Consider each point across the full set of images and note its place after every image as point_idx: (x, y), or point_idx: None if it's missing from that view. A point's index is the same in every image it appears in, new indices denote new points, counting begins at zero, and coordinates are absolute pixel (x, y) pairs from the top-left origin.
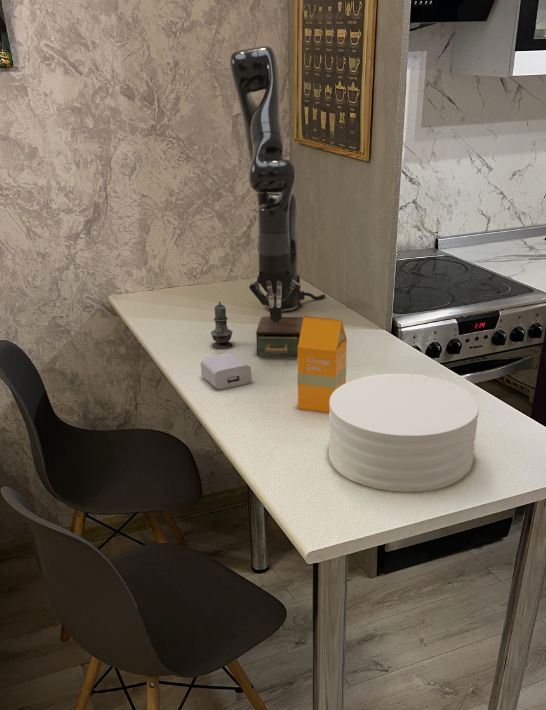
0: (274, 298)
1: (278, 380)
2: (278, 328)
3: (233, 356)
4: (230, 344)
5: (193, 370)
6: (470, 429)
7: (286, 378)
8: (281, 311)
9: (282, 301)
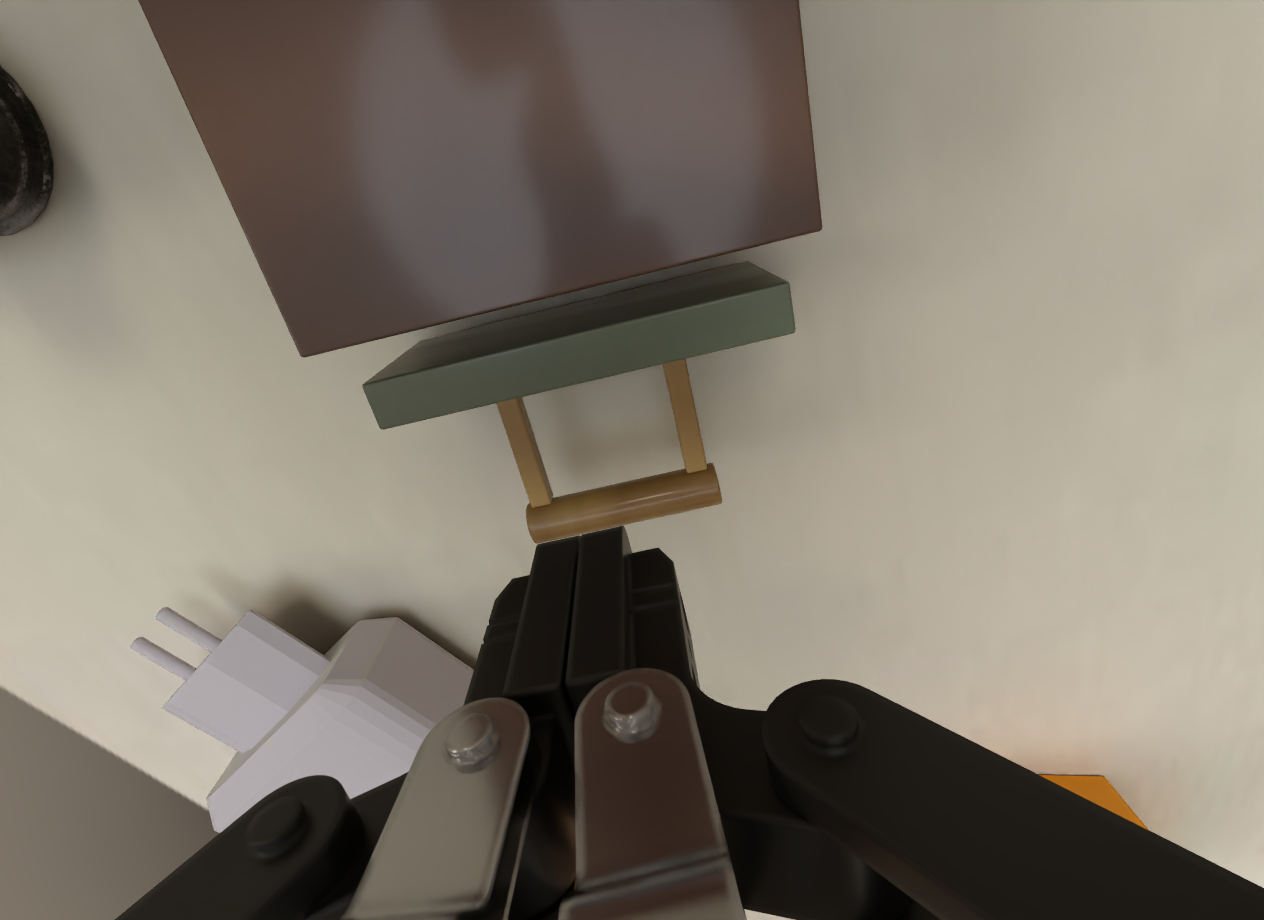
0: (512, 860)
1: (711, 660)
2: (504, 154)
3: (382, 755)
4: (20, 131)
5: (146, 661)
6: None
7: (750, 625)
8: (697, 685)
9: (770, 904)
